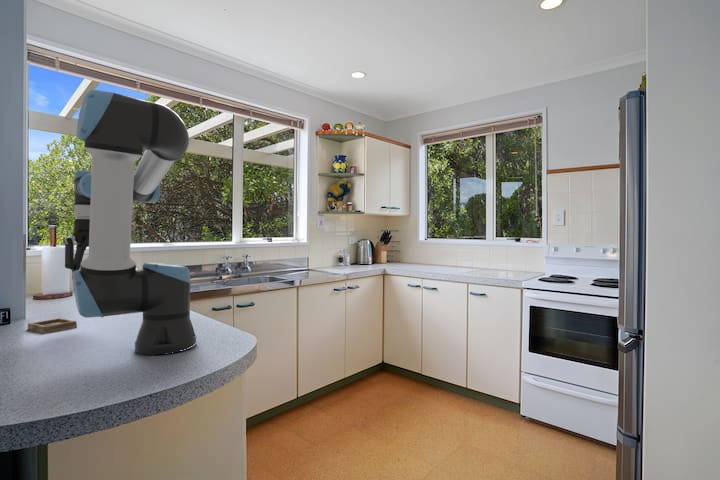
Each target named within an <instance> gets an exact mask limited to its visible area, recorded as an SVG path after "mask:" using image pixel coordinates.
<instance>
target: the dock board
mask: <svg viewBox="0 0 720 480" xmlns="http://www.w3.org/2000/svg"><path fill="white" fill-rule="evenodd" d="M77 327H78V324H77V321H76V320H72V319H68V318H62V317H59V318H53V319H52V318H51V319H46V320H40V321H35V322H34V321H33V322H28V323H27V330H28V329H30V330H29V331H32V330H33V331H34V332H36V331H37V332H36V333H41V334H47V333H48V334H49V333H53V332H59V331H65V330H70V329H75V328H77Z"/></svg>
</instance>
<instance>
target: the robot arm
mask: <svg viewBox="0 0 720 480" xmlns="http://www.w3.org/2000/svg"><path fill="white" fill-rule="evenodd" d="M76 127H77V128H76V138H77V139H78V140H80V141H81V142H82V141H84V146H83V147H84V150H85V151H86V152H87V153H88V154H89V155H90V156H91V170H77V171H75V172H74V179H73V183H74V184H73V185H74V186H73V188H74V189H73V191H74V192H73V193H74V197H73V198H74V203H73V204H74V205H73V209H74V210H73V217H74V218H75V219H74V220H73V231H74V233H73V234H72V236H68V237H63V239H62V240H63V243H64V268H65V269H69V270H71V279H72V286H73V292H74V298H75V303H76V304H75V305H76V307H77V312H78V313H79V315H80V316H81V317H83V318H104V317H111V316H119V315H129V314H137V313H142V321H141V324H140V325H141V326H140V328H139V330H138V334H137V337H136V339H135V341H134V352H135V353H137V354H139V355H144V354H145V355H147V356H157V355H156V354H164V355H167V354H166V353H172V352H177V351H180V350H184V349H187V348H189V347H191V346H193V345H194V344H195V343H196V344H197V335H196V333H195V330H194V327H193V323H192V320H191V284H192V281H191V271H190V269H189V268H188V267H187V266H184V265H179V264H168V263H161V262H144V263H143V264H142V266H141V268H140V267H139V268H137V262H136V261H135V260H134V259H133V258H132V257H131V238H132V221H133V220H132V219H133V218H132V217H133V202H138V203H144V204H145V203H146V204H148V203H157V202H158V201H160V196H161V184H160V183H161V182H162V180H163V179H164V178H165V176H166V174H167V173H168V172H169V170H170V168H171V167H172V165H173V164H174V163H175V162H176V161H178V160H180V159H182V158H183V157H184V156H185V154H186V152H187V150H188V148H189V143H190V136H189V132H188V129H187V126H186V125H185V123H184V121H183V119H182V118H181V117H180V116H179V115H178V114H177V113H176V112H175V111H174V110H173V109H172V108H170V107H168V106H166V105H164V104H161V103H158V102H152V101H148V100H144V99H140V98H136V97H132V96H128V95H125V94H120V93H115V92H113V91H104V90H98V89H90V90H88V91H87V92H86V93H85V94H84V95H83V99H82V102H81V106H80V109H79V113H78V119H77V125H76ZM144 150H145V151H144ZM143 151H144V152H143ZM139 159H140V161H139V163H137V167H136V168H135V164H136V162H137V161H138V160H139ZM75 242H76V246H75V249H76V250H75V251H74V243H75ZM87 248H88V256H87V257H86V258H84V254H85V252H86V249H87ZM74 253H75V254H74ZM83 259H84V260H83ZM172 354H173V353H172Z"/></svg>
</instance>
